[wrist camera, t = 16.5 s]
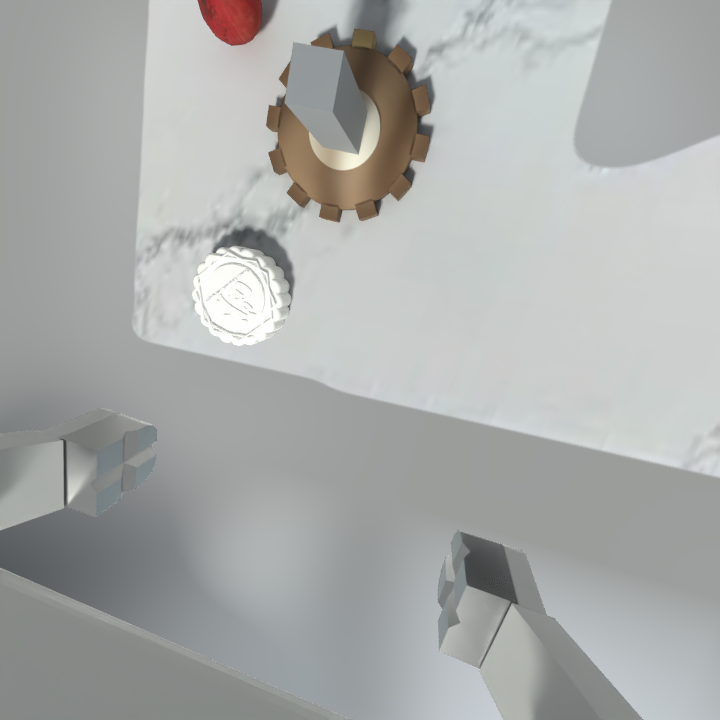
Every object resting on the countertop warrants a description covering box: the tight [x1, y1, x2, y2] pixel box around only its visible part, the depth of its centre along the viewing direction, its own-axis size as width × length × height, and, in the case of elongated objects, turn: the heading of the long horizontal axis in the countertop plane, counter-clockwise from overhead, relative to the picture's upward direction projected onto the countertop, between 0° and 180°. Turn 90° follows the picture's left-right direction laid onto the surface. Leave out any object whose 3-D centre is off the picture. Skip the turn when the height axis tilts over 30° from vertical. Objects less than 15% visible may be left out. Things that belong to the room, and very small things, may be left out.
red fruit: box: [198, 0, 262, 46], centre depth 33 cm, size 6×6×8 cm
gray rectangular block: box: [285, 43, 368, 155], centre depth 31 cm, size 4×4×10 cm
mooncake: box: [192, 246, 291, 346], centre depth 43 cm, size 12×12×4 cm
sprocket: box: [266, 29, 430, 222], centre depth 37 cm, size 18×18×2 cm
